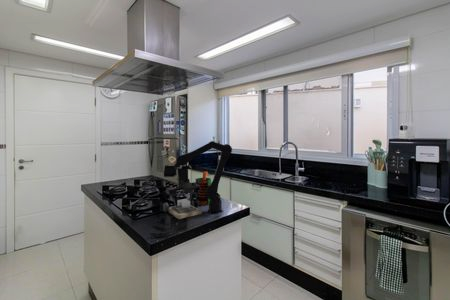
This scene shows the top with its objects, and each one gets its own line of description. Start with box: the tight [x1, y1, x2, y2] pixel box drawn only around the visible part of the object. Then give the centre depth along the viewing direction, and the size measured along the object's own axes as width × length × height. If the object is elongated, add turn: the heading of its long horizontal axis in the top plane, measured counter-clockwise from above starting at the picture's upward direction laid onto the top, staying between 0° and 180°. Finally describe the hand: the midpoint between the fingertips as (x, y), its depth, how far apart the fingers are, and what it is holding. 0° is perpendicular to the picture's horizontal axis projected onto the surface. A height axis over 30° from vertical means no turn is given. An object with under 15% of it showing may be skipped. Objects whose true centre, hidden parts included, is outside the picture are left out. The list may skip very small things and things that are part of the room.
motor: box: [195, 171, 212, 206], centre depth 145 cm, size 10×9×20 cm
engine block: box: [177, 198, 190, 211], centre depth 129 cm, size 5×6×5 cm
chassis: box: [162, 198, 203, 220], centre depth 129 cm, size 17×18×5 cm
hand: (183, 204), depth 129 cm, fingers open, 9 cm apart
